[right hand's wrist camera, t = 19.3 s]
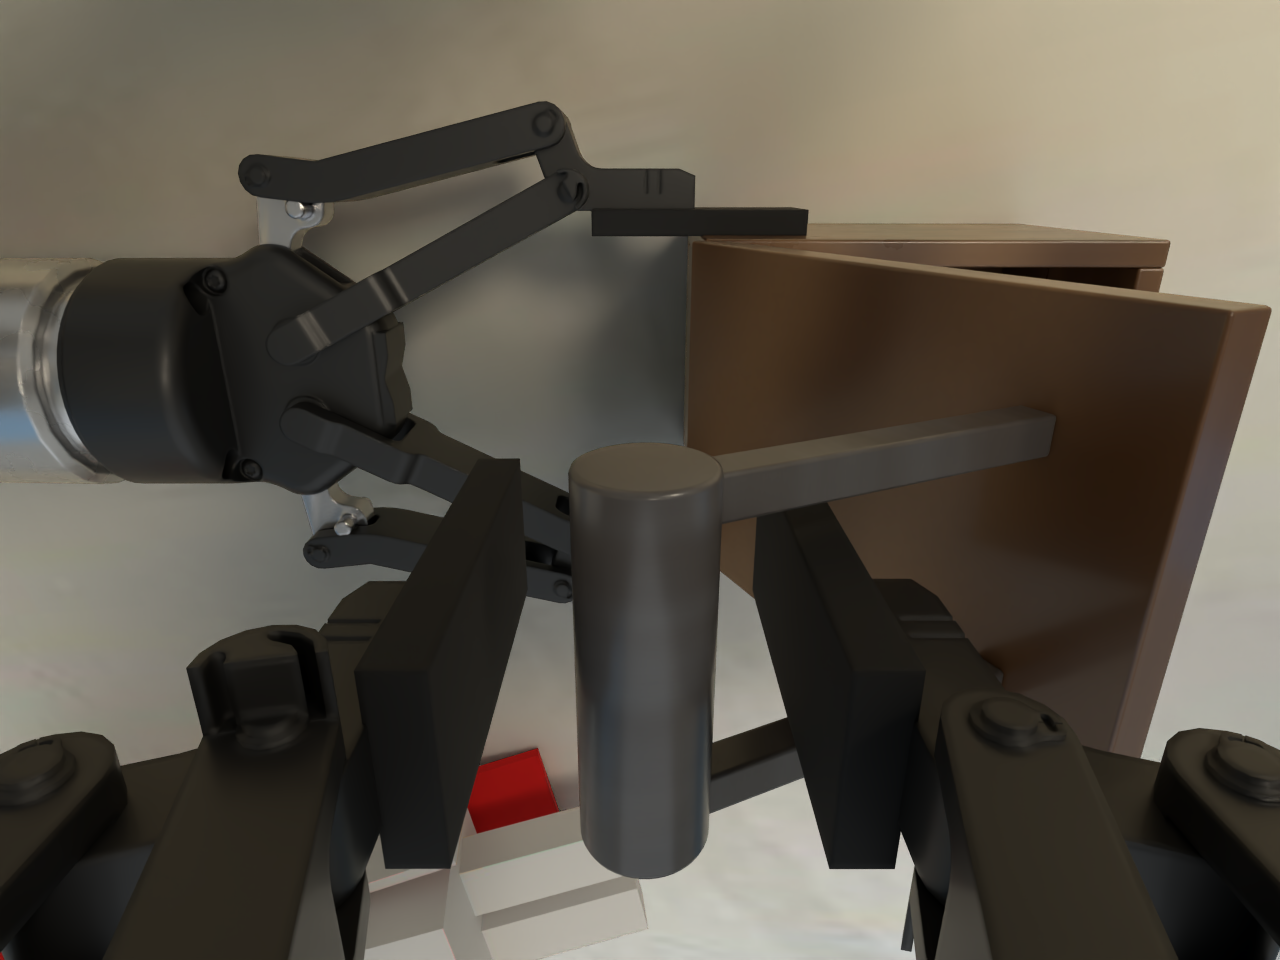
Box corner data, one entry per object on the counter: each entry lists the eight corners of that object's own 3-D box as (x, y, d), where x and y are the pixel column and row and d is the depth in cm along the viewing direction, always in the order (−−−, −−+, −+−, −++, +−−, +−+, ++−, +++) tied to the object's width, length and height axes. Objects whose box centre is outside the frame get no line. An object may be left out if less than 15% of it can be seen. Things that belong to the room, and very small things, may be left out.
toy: (675, 1063, 34) (-18, 1263, 32) (636, 833, 46) (136, 969, 45) (617, 858, 30) (-184, 1076, 28) (591, 667, 42) (37, 809, 40)
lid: (1275, 305, 10) (670, 373, 6) (1116, 845, 13) (659, 1092, 10) (720, 240, 21) (394, 251, 18) (709, 537, 25) (432, 597, 21)
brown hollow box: (1020, 224, 30) (1173, 240, 22) (982, 443, 34) (1101, 535, 25) (688, 223, 30) (704, 239, 22) (683, 441, 34) (695, 532, 25)
